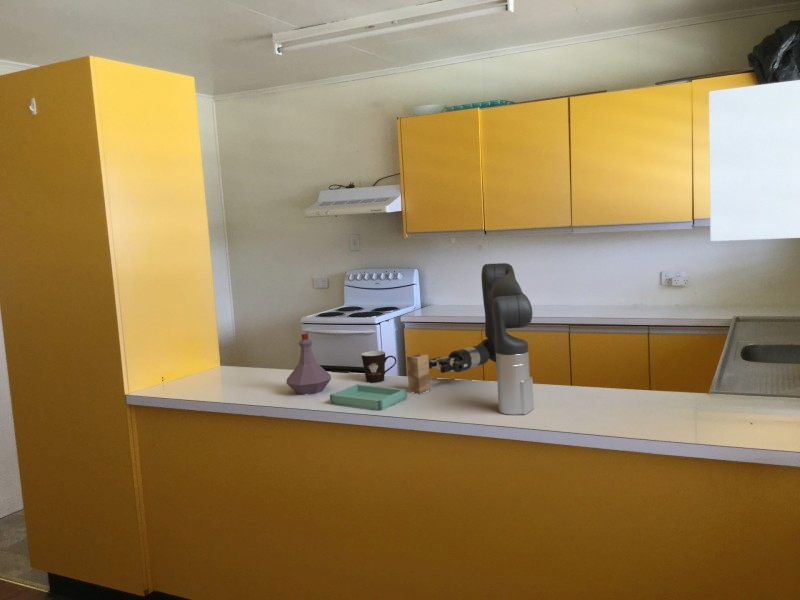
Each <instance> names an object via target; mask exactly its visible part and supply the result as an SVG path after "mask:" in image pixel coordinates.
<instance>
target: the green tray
mask: <svg viewBox="0 0 800 600" xmlns="http://www.w3.org/2000/svg"><path fill="white" fill-rule="evenodd" d="M407 391H408V390H407V389H406V388H405V389H404V388H394V387H385V386H377V385H367V384H356V383H355V384H354V385H352V386H348V387H347V388H344V389H341V390H338V391H336V392H334V393H331V394H329V401H330V402H329V403H330V405H335V406H345V407H351V408H358V409H364V408H367V409H366V410H371V409H375V410H374V411H379V410H382V411H383V409H384V410H386V409H388V408H390V407H392V406H394V405H393V404H395V403H397V404H399V403H401V402H403V401H405V400H407V399H408V395H407ZM406 398H407V399H406ZM404 399H405V400H404ZM402 400H403V401H402ZM400 401H401V402H400ZM398 402H399V403H398ZM391 405H392V406H391ZM395 405H396V404H395ZM389 406H390V407H389ZM387 407H388V408H387ZM385 408H386V409H385Z"/></svg>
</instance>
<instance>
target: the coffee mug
mask: <svg viewBox="0 0 800 600" xmlns="http://www.w3.org/2000/svg"><path fill="white" fill-rule="evenodd" d="M360 355H361V361H362V366H363V371H364V375H365V380H366V382H367V383H368V382H370V383H369V384H378V383H382V382H384V381H385V374H386V373H387V372H388V371H390V370H391V369H392V368H394V367H395V365H396V364H397V357H395V356H394V355H388V356H386V351H384V350H371V351H365V352H362V353H360ZM388 358H392V359H394V363H393V364H392V365H391V366H390V367H388V368H387V369H385V368H386V367H385V366H386V362H387V360H388ZM377 382H378V383H377Z"/></svg>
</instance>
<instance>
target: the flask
mask: <svg viewBox="0 0 800 600" xmlns="http://www.w3.org/2000/svg"><path fill="white" fill-rule="evenodd" d="M300 337H301V340H299V342H298V345H299V346H300V357H299V361H298V363H297V365H296V366H295V368H294V369H293V371H292V372H291V373H290V375H288V377H287V378H286V385H287V386H289V387H290V389H292V390H293V391H294V392H295V393H296V394H297V393H298V394H297V395H303V394H304V395H303V396H305V394H308V395H314V394H315V395H316V394H319V393H321V392H323V391H324V390H325V389H326V387H327V386H328V384H329V383H330V382H331V380H332V376H331V374H330V373H329V372H328V371H326V370H325V369H324V367H322V366H321V365H320V364H319V363H318V362H317V361H316V359H315V358H316V357H315V356H314V353H313V350H312V344H313V340H312V339H310V338H309V333H301V336H300Z"/></svg>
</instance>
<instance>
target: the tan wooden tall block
mask: <svg viewBox="0 0 800 600" xmlns="http://www.w3.org/2000/svg"><path fill="white" fill-rule="evenodd" d="M428 359H429V354H424V353H423V354H420V353H415V354H412V355H411V354H410V355H407V356H406V363H407V364H406V366H407V368H406V369H407V380H408V392H409V393H411V392H414V393H413V394H416V393H419V394H418V395H421V394H420V393H422V394H424V393H423V392H426V391H428V390H431V380H430V379H431V378H430V369H429V360H428ZM426 393H427V392H426Z"/></svg>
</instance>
